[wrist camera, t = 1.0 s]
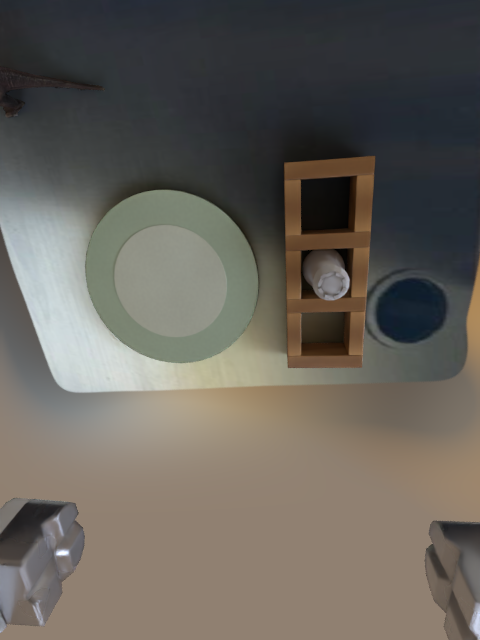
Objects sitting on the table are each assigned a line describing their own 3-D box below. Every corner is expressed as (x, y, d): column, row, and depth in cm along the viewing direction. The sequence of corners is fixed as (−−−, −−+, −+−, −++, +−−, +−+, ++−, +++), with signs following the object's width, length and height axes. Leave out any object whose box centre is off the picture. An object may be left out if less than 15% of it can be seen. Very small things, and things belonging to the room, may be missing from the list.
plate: (73, 195, 39) (66, 196, 37) (254, 183, 36) (253, 183, 35) (108, 359, 46) (103, 363, 44) (262, 358, 43) (262, 363, 42)
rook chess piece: (318, 238, 37) (327, 250, 30) (352, 260, 38) (369, 278, 30) (293, 273, 39) (296, 293, 31) (327, 294, 39) (337, 319, 32)
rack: (283, 165, 35) (284, 162, 32) (366, 158, 34) (375, 155, 31) (287, 354, 42) (287, 368, 39) (355, 353, 41) (362, 367, 38)
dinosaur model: (-167, 35, 25) (36, 7, 23) (-37, 76, 35) (106, 58, 34) (-138, 101, 26) (53, 78, 25) (-22, 121, 37) (115, 105, 36)
